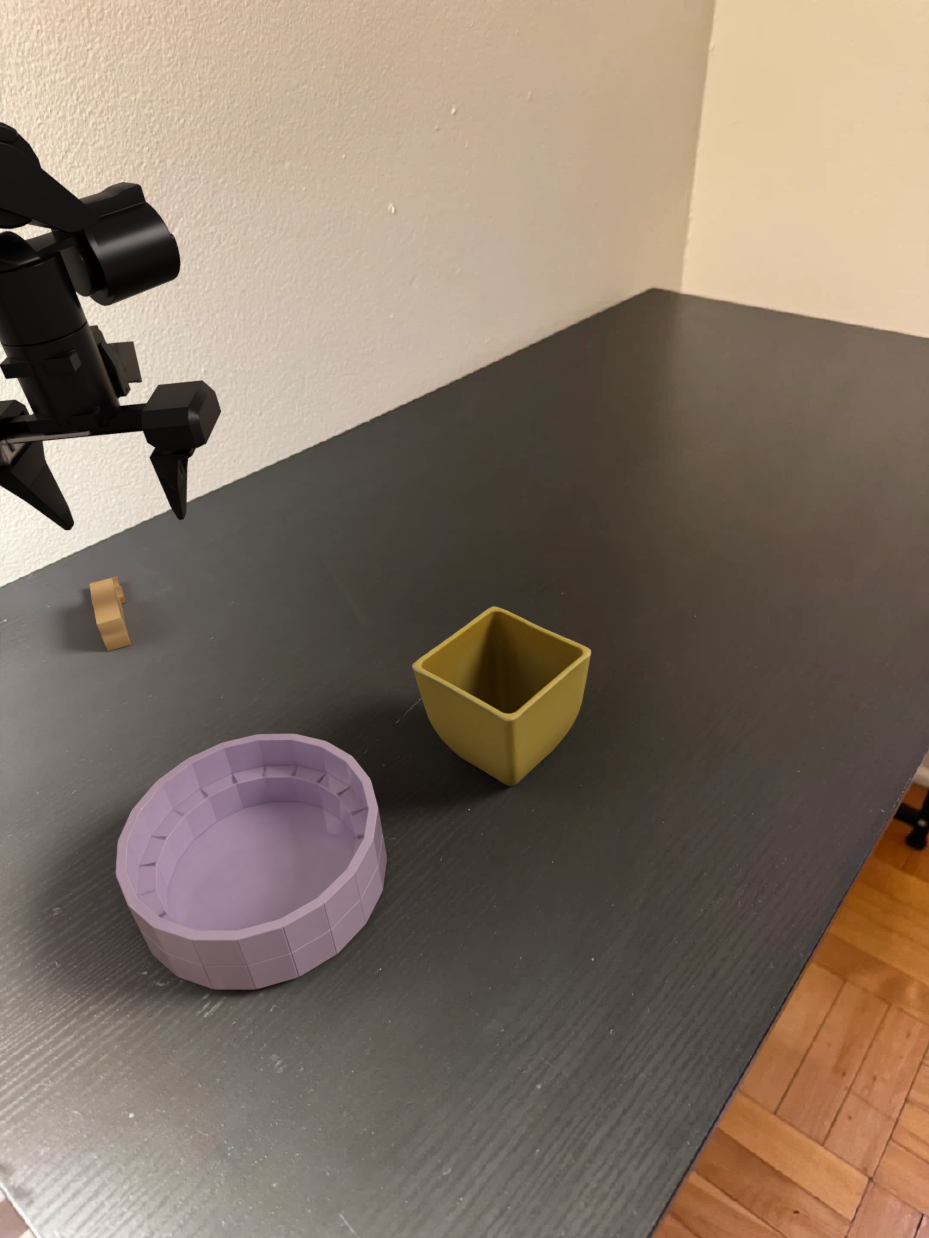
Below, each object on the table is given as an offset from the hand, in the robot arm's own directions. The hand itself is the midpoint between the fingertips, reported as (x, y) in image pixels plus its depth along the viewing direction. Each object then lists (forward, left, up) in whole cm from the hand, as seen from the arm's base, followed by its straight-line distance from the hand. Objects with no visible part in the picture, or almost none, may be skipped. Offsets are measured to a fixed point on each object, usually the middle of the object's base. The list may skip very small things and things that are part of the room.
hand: (126, 522), depth 67 cm
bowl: (+22, -19, -12) cm, 31 cm away
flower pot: (+33, -4, -12) cm, 35 cm away
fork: (-7, +2, -12) cm, 14 cm away
